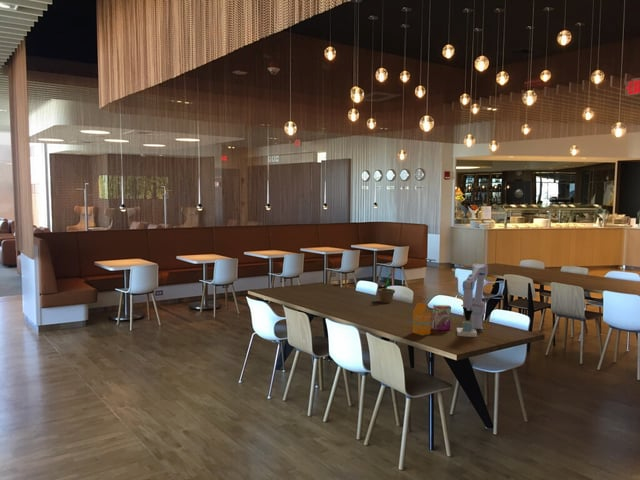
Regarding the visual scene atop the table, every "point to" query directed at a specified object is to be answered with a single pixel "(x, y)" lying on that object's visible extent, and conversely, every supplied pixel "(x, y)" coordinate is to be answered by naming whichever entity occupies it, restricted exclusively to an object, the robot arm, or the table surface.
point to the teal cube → (467, 326)
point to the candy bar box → (441, 317)
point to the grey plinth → (466, 332)
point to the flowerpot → (386, 292)
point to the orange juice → (421, 319)
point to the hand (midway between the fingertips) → (467, 319)
